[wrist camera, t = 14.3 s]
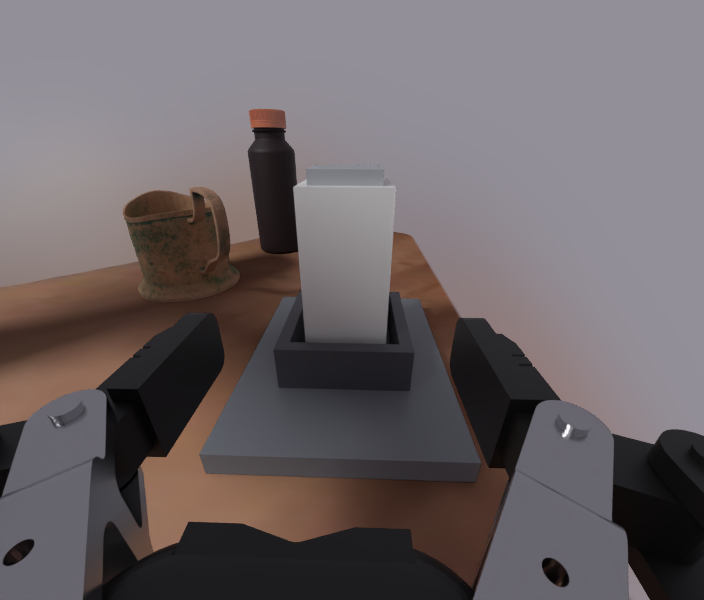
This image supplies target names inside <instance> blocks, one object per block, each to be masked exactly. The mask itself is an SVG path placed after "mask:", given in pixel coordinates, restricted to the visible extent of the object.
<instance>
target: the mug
mask: <svg viewBox="0 0 704 600" xmlns="http://www.w3.org/2000/svg"><path fill="white" fill-rule="evenodd" d="M189 190H190V194H191V196H188V195H183V194H179V193H175V192H171V191H161V190H157V191H149V192H146V193H144V194H141V195H139V196H138V197H136V198H134V199H133V200H131V201H130V202H128V203H127V204H126V205H125V207H124V209H123V215H124V218H125V220H126V222H127V226H128V229H129V233H130V237H131V240H132V243H133V246H134V247H135V251H136V255H137V257H138V260H139V263H140V266H141V270H142V272H143V276H144V278H143V280H142V281H141V283H140V285H139V287H138V291H139V293H140V295H141V296H142V297H143V298H145V299H147V300H150V301H155V302H183V301H191V300H196V299H201V298H205V297H209V296H212V295H215V294H218V293H221V292H223V291H225V290H227V289H229V288H231V287H232V286H234V285H235V284H236V283H237V282H238V281H239V279H240V273H239V271H238V269H236V268H235V267H234V266H233V265H231V264H230V261H229V252H230V234H229V227H228V221H227V216H226V212H225V208H224V205H223V203H222V201H221V199H220V197H219V196H218V195H217V194H216V193H215V192H214V191H212V190H210V189H208V188H204V187H194V188H189ZM204 197H205V198H206V200H207V201H208V202H207V201H204Z"/></svg>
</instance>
